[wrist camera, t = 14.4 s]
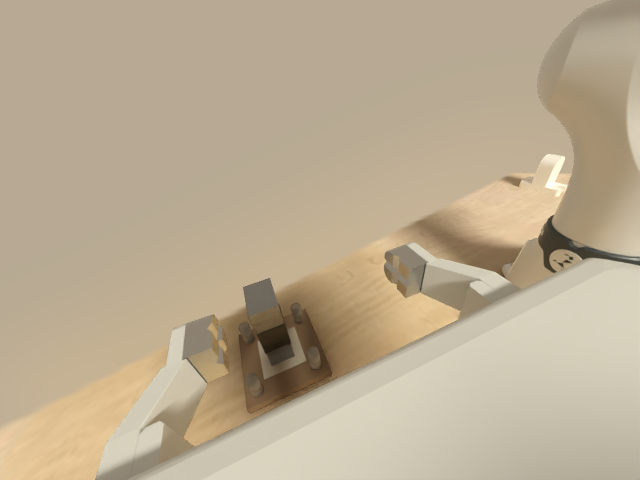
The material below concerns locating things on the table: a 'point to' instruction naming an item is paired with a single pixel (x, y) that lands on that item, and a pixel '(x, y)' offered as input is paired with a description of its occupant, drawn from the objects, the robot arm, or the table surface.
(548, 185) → the cable organizer
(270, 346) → the grey rectangular block
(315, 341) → the peg cradle
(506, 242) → the table surface
